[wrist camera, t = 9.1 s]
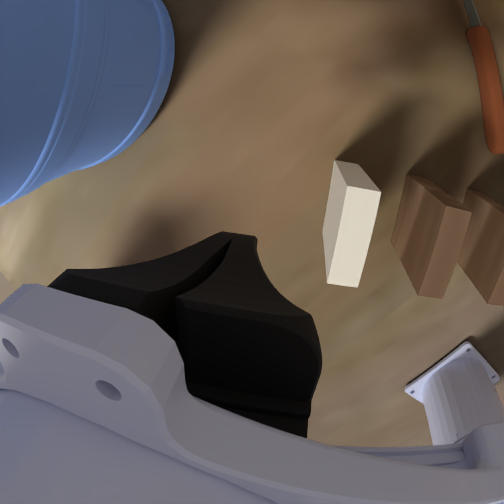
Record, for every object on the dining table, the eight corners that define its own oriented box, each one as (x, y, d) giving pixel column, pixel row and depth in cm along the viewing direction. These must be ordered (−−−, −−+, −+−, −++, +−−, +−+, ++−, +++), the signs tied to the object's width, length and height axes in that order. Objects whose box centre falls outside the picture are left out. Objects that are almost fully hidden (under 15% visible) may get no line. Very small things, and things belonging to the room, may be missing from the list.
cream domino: (358, 164, 20) (381, 192, 13) (344, 234, 22) (357, 287, 16) (334, 159, 20) (347, 185, 14) (322, 230, 22) (326, 283, 16)
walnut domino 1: (427, 178, 19) (472, 212, 13) (410, 245, 21) (442, 298, 15) (406, 173, 19) (446, 205, 13) (390, 241, 22) (417, 295, 15)
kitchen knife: (497, 150, 17) (512, 155, 15) (483, 151, 17) (497, 156, 16) (446, -49, 11) (456, -58, 9) (430, -51, 11) (440, -61, 10)
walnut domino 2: (483, 193, 19) (535, 229, 12) (465, 254, 21) (505, 306, 15) (466, 188, 19) (517, 224, 13) (448, 251, 21) (487, 303, 15)
